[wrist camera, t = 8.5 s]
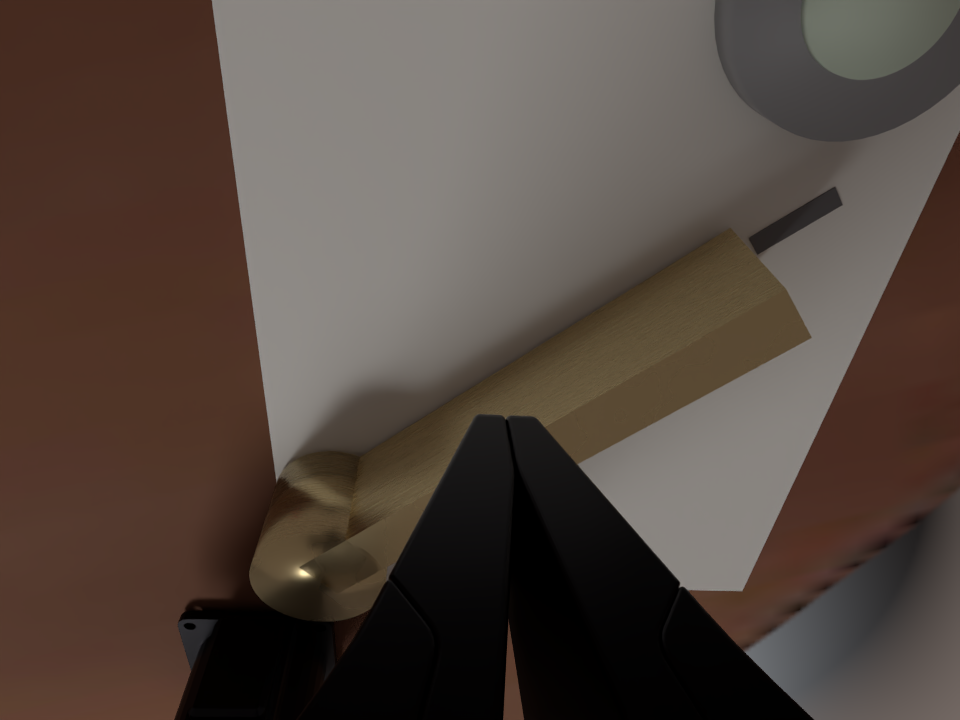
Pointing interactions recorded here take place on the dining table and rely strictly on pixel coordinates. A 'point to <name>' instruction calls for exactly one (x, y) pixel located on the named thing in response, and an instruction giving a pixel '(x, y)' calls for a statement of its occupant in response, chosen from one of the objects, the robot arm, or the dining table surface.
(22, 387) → the dining table surface
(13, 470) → the dining table surface
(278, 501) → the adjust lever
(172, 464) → the dining table surface
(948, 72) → the base
